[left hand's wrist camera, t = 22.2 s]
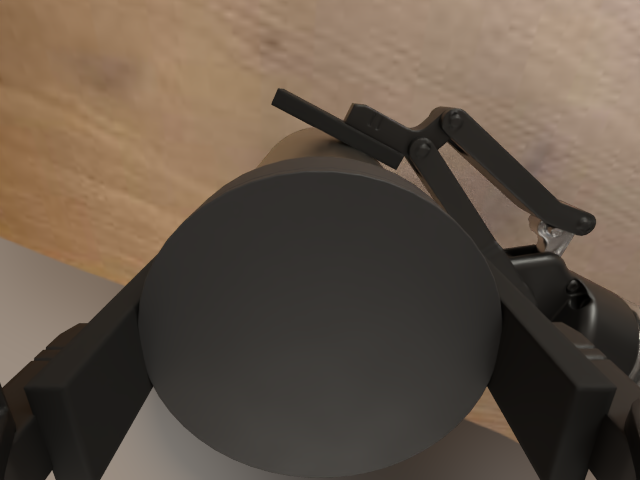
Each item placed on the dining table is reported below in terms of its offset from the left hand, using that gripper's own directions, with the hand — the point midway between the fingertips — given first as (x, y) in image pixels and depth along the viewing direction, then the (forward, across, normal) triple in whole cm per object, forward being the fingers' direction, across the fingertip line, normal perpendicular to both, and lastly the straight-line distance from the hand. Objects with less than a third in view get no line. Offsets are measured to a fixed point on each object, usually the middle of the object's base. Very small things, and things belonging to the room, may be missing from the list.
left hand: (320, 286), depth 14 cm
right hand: (+7, -4, +2) cm, 9 cm away
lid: (-3, 0, 0) cm, 3 cm away
